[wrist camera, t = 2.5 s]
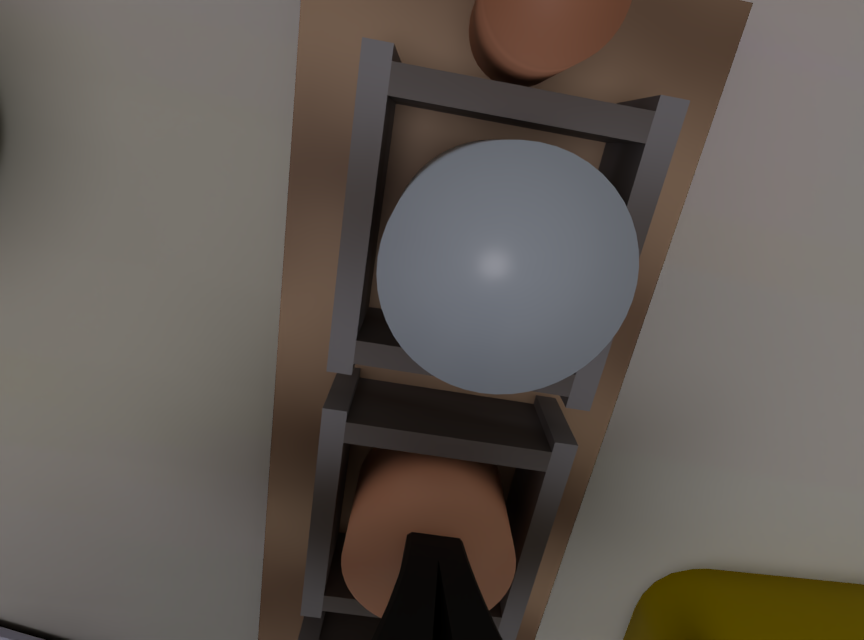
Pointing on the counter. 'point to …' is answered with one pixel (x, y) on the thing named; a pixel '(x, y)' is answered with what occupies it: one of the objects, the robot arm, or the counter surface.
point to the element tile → (747, 608)
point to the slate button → (507, 265)
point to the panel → (364, 226)
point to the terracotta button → (425, 521)
